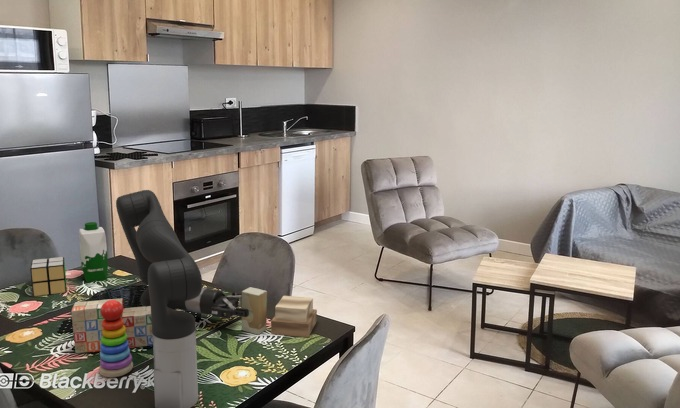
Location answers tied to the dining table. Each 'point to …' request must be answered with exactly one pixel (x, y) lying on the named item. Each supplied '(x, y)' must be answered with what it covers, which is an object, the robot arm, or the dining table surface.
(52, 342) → the dining table surface
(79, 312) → the stack of blocks
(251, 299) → the skincare box
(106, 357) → the stacking toy
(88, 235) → the milk carton
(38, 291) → the puzzle cube
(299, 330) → the stepped wooden pedestal
